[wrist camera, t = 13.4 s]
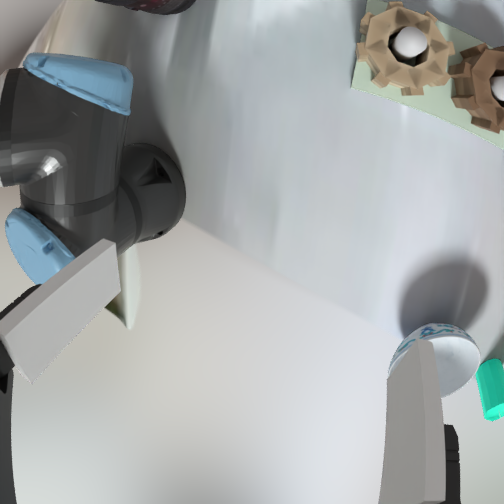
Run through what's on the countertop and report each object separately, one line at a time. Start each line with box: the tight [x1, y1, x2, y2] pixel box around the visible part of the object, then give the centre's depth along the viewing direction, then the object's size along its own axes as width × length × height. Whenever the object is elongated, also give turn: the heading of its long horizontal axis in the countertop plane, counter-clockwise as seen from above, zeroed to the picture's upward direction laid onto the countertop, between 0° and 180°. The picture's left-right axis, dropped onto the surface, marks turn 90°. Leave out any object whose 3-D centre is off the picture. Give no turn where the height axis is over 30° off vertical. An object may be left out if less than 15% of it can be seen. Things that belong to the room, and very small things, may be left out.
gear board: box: [351, 0, 504, 150], centre depth 21 cm, size 21×12×10 cm, turn 80°
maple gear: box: [355, 2, 455, 96], centre depth 23 cm, size 10×10×6 cm
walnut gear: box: [448, 43, 504, 134], centre depth 21 cm, size 10×10×6 cm
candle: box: [476, 358, 504, 421], centre depth 37 cm, size 6×6×12 cm
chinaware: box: [388, 323, 481, 398], centre depth 40 cm, size 15×15×8 cm
